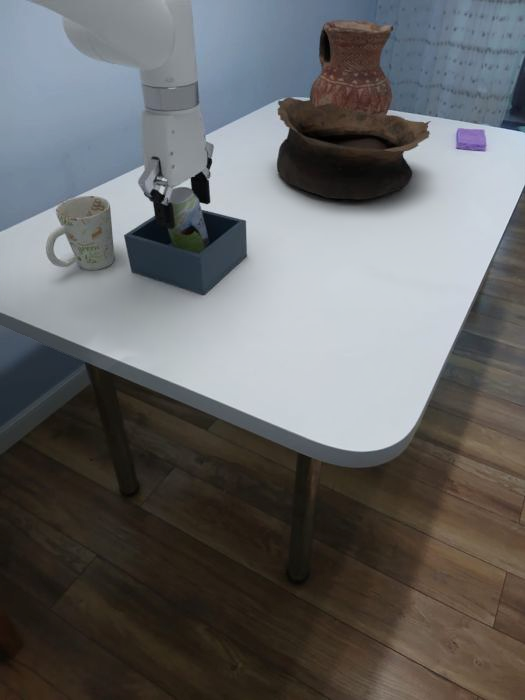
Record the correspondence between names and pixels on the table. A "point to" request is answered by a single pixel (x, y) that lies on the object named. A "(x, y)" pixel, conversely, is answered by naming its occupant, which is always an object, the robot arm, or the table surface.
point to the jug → (353, 67)
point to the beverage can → (188, 221)
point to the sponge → (471, 139)
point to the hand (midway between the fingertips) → (184, 213)
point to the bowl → (345, 150)
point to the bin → (188, 253)
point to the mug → (84, 232)
